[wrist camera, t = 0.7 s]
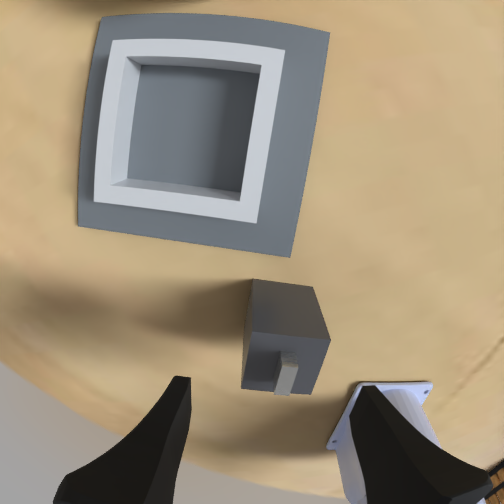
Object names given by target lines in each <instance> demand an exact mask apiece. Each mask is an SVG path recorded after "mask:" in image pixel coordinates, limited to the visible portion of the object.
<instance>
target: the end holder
mask: <svg viewBox="0 0 504 504" xmlns="http://www.w3.org/2000/svg"><path fill="white" fill-rule="evenodd" d="M329 37H330V33H329V32H325V31H321V30H317V29H312V28H308V27H303V26H298V25H292V24H287V23H281V22H275V21H269V20H262V19H254V18H246V17H237V16H226V15H212V14H190V13H153V14H131V15H118V16H107V17H102V19H101V23H100V27H99V31H98V35H97V39H96V44H95V49H94V54H93V59H92V64H91V69H90V75H89V81H88V87H87V94H86V101H85V109H84V117H83V126H82V136H81V148H80V163H79V186H78V226H79V227H86V228H93V229H100V230H106V231H113V232H120V233H127V234H133V235H140V236H147V237H154V238H160V239H167V240H174V241H181V242H187V243H194V244H201V245H208V246H214V247H221V248H228V249H235V250H241V251H248V252H255V253H262V254H268V255H275V256H282V257H289V258H290V256H291V251H292V246H293V242H294V237H295V232H296V227H297V222H298V217H299V212H300V207H301V202H302V197H303V191H304V186H305V181H306V176H307V170H308V165H309V159H310V154H311V148H312V143H313V137H314V131H315V126H316V120H317V114H318V108H319V102H320V96H321V90H322V83H323V77H324V71H325V64H326V57H327V51H328V44H329Z"/></svg>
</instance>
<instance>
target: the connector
mask: <svg viewBox="0 0 504 504" xmlns="http://www.w3.org/2000/svg"><path fill="white" fill-rule="evenodd" d="M330 341H331V339H330V336H329V333H328V330H327V327H326V324H325V321H324V318H323V315H322V312H321V309H320V306H319V303H318V300H317V298H316V295H315V292H314V289H313V287H310V286H303V285H295V284H288V283H281V282H274V281H266V280H259V279H253V280H252V286H251V292H250V298H249V303H248V309H247V315H246V320H245V326H244V338H243V358H242V378H241V389H249V390H259V391H269V392H274V395H286V396H289V395H290V393H293V394H309V395H311V393H312V390H313V388H314V385H315V383H316V380H317V377H318V375H319V372H320V369H321V366H322V364H323V361H324V358H325V355H326V353H327V350H328V347H329V344H330Z"/></svg>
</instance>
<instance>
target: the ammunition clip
mask: <svg viewBox="0 0 504 504" xmlns="http://www.w3.org/2000/svg"><path fill="white" fill-rule="evenodd" d="M488 474H489V476H490V479H491V481H492V483H493V487H494V488H492V490H491V491H490V492H489V493H488V494H487V495H486V496H485V497H484V499H485V502H486V504H490V503H491V504H500V502H501V503H502V504H504V461H502V462H501V463H500V464H499V465H498V466H496V467H495V468H494V469H493V470H491V471H490V472H489V473H488ZM496 494H497V495H496ZM497 496H498V497H497ZM498 498H499V499H498ZM499 500H500V501H499ZM489 501H490V502H489Z"/></svg>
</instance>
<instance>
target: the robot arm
mask: <svg viewBox="0 0 504 504" xmlns="http://www.w3.org/2000/svg"><path fill="white" fill-rule="evenodd" d="M432 388H433V384H432V382H406V383H360V384H358V385H357V387H356V389H355V391H354V393H353V395H352V397H351V399H350V401H349V403H348V405H347V407H346V409H345V411H344V413H343V415H342V417H341V419H340V421H339V422H338V424H337V426H336V428H335V430H334V432H333V434H332V435H331V437H330V439H329V441H328V443H327V444H326V448H327V449H328V450H336V454H337V459H338V464H339V469H340V474H341V479H342V484H343V489H344V493H345V496H346V498H347V499H348V501H349V502H350V503H351V504H486V502H485V499H484V497H485V496H486V495H487V494H488V493H489V492H490V491H491V490H492V488H493V483H492V481H491V479H490V476H489V474H488V472H487V471H485V470H483V469H480V468H477V467H475V466H472V465H470V464H468V463H466V462H464V461H461V460H459V459H458V458H456V457H454V456H452V455H450V454H449V453H447V452H446V451H444V450H443V449H442V448H441V446H440V443H439V441H438V439H437V437H436V435H435V433H434V431H433V429H432V427H431V424H430V422H429V420H428V418H427V416H426V414H425V412H424V410H423V408H422V406H421V405H422V404H423V402H424V401H425V399H426V397H427V396H428V394H429V393H430V391H431V389H432ZM191 410H192V407H191V378H190V377H183V376H175V377H173V379H172V381H171V382H170V384H169V386H168V387H167V389H166V390H165V392H164V393H163V394H162V396H161V397H160V399H159V400H158V401H157V403H156V404H155V405H154V406H153V408H152V409H151V410H150V411H149V413H148V414H147V415H146V416H145V417H144V418H143V419H142V421H141V422H140V423H139V424H138V425H137V426H136V427H135V428H134V429H133V430H132V431H131V432H130V433H129V434H128V435H127V436H126V437H124V438H123V439H122V440H121V441H120V442H119V443H118V444H116V445H115V446H114V447H112V448H111V449H110V450H108V451H107V452H106V453H104V454H103V455H101V456H100V457H98V458H97V459H95V460H94V461H92V462H90V463H89V464H87V465H85V466H83V467H81V468H79V469H77V470H76V471H74V472H71V473H69V474H67V475H66V476H65V477H64V479H63V480H62V482H61V484H60V486H59V488H58V490H57V492H56V495H55V497H54V500H53V504H173V496H174V489H175V481H176V477H177V472H178V468H179V464H180V461H181V457H182V453H183V450H184V446H185V442H186V438H187V435H188V431H189V424H190V417H191Z"/></svg>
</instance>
